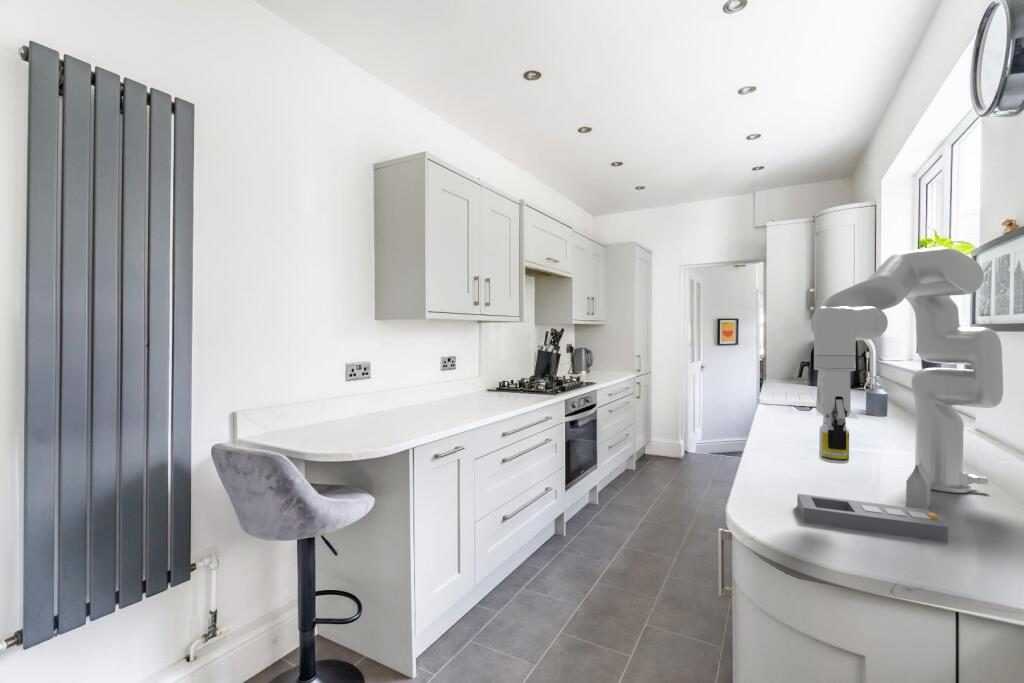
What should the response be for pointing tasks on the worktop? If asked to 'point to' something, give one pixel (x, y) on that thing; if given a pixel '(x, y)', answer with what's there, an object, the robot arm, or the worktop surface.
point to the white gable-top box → (918, 488)
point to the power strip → (872, 517)
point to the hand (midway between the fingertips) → (834, 444)
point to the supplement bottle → (832, 454)
